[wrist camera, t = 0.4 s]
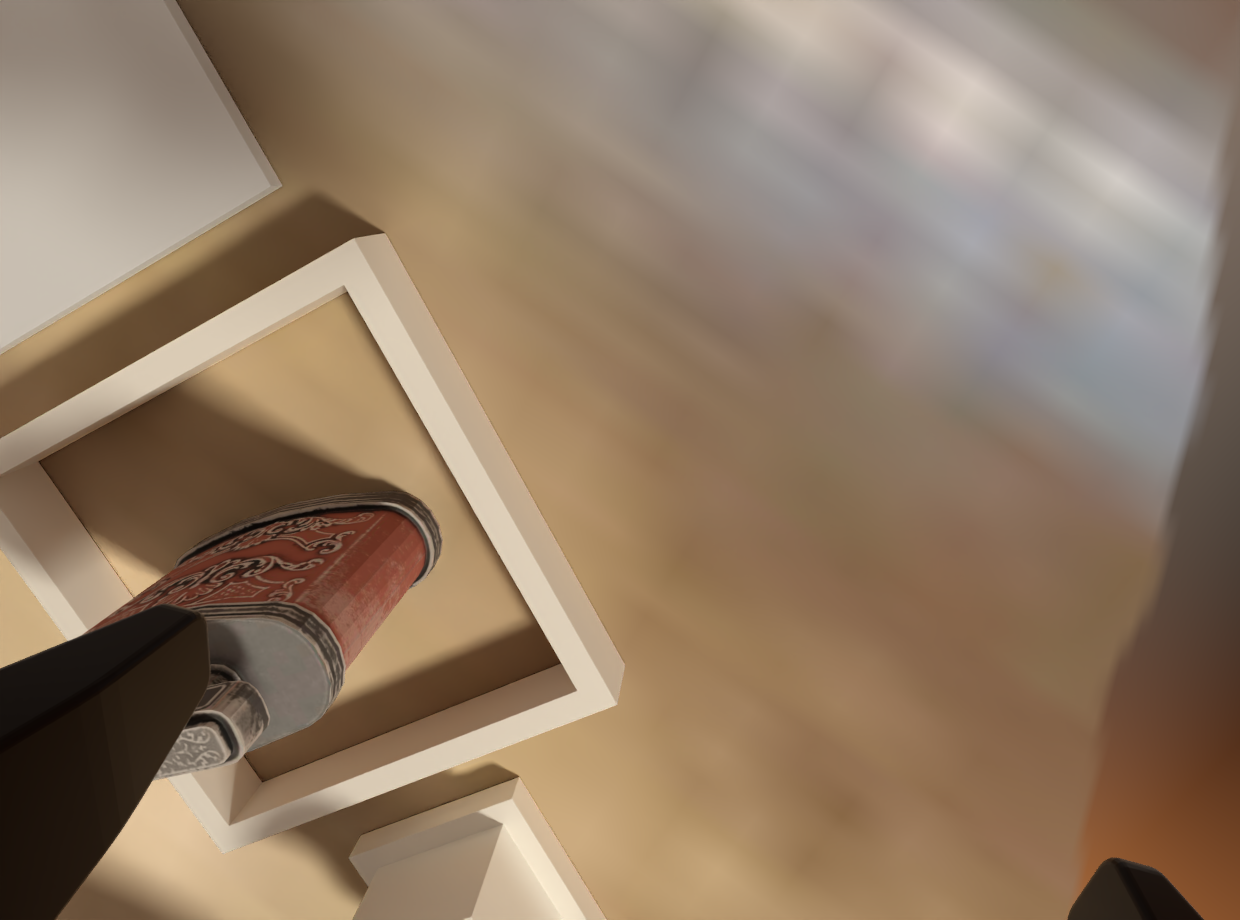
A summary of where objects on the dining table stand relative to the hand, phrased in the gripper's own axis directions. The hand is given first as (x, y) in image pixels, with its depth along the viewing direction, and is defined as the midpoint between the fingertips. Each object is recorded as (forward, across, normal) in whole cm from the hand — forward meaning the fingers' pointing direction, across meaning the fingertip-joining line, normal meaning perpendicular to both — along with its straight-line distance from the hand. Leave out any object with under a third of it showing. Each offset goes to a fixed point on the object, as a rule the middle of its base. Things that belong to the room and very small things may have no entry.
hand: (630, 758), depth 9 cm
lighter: (+13, +10, +10) cm, 19 cm away
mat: (+15, +19, -1) cm, 24 cm away
